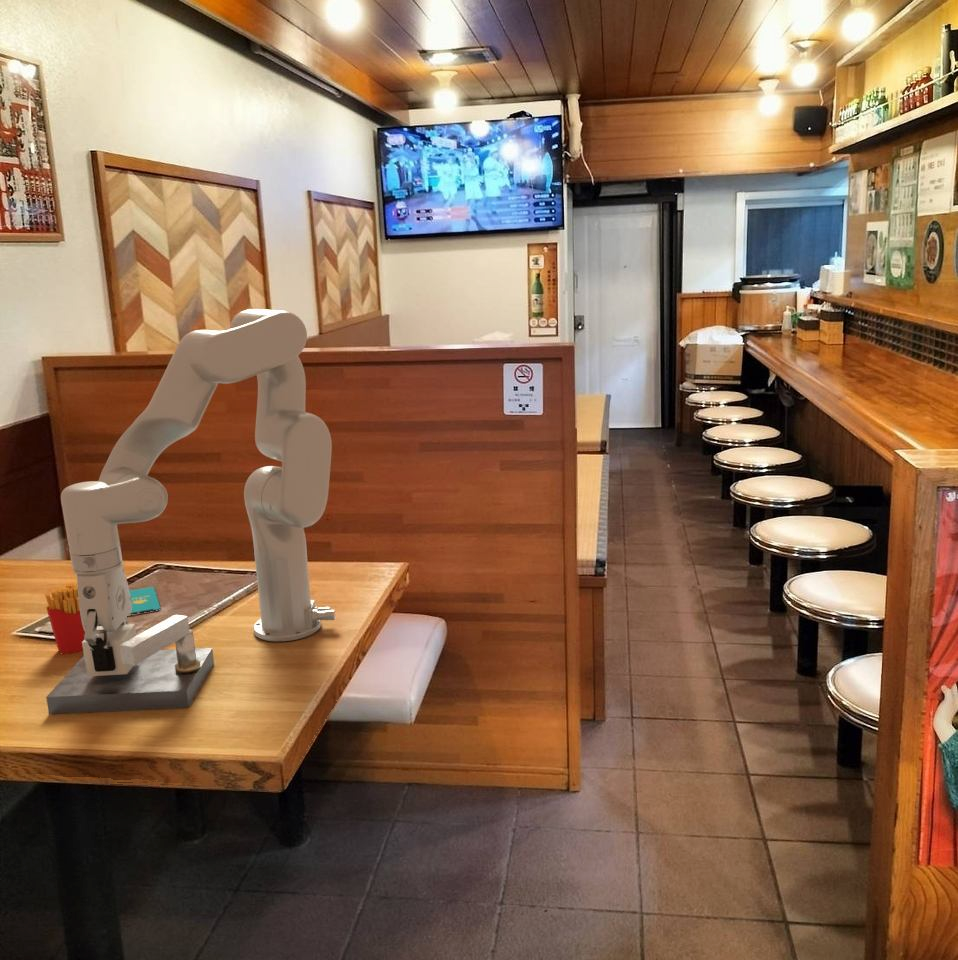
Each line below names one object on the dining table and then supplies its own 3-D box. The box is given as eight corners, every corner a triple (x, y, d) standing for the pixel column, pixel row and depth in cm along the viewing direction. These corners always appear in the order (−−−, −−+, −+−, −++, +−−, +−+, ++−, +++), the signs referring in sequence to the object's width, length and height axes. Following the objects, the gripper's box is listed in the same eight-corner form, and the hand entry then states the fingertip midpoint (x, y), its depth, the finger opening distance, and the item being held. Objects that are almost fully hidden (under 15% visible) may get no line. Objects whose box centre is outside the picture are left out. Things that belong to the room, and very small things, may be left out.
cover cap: (140, 656, 155) (135, 624, 154) (127, 674, 149) (121, 640, 147) (102, 658, 155) (96, 626, 154) (87, 676, 149) (81, 642, 147)
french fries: (57, 657, 166) (47, 594, 163) (51, 650, 169) (41, 589, 166) (105, 643, 171) (96, 583, 168) (98, 637, 174) (90, 577, 171)
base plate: (214, 663, 161) (212, 647, 160) (188, 707, 145) (186, 690, 144) (88, 669, 160) (85, 653, 160) (49, 714, 145) (46, 697, 144)
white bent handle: (186, 660, 155) (180, 609, 152) (205, 664, 153) (199, 612, 151) (123, 699, 142) (115, 644, 140) (143, 703, 140) (136, 647, 138)
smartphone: (154, 585, 199) (161, 608, 186) (154, 589, 199) (161, 611, 186) (118, 592, 196) (123, 615, 183) (119, 595, 197) (123, 619, 183)
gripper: (100, 576, 139) (117, 683, 143) (138, 540, 156) (152, 637, 160) (50, 579, 139) (69, 686, 143) (93, 542, 155) (109, 639, 160)
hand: (113, 659), depth 152 cm, fingers closed on cover cap, 6 cm apart
